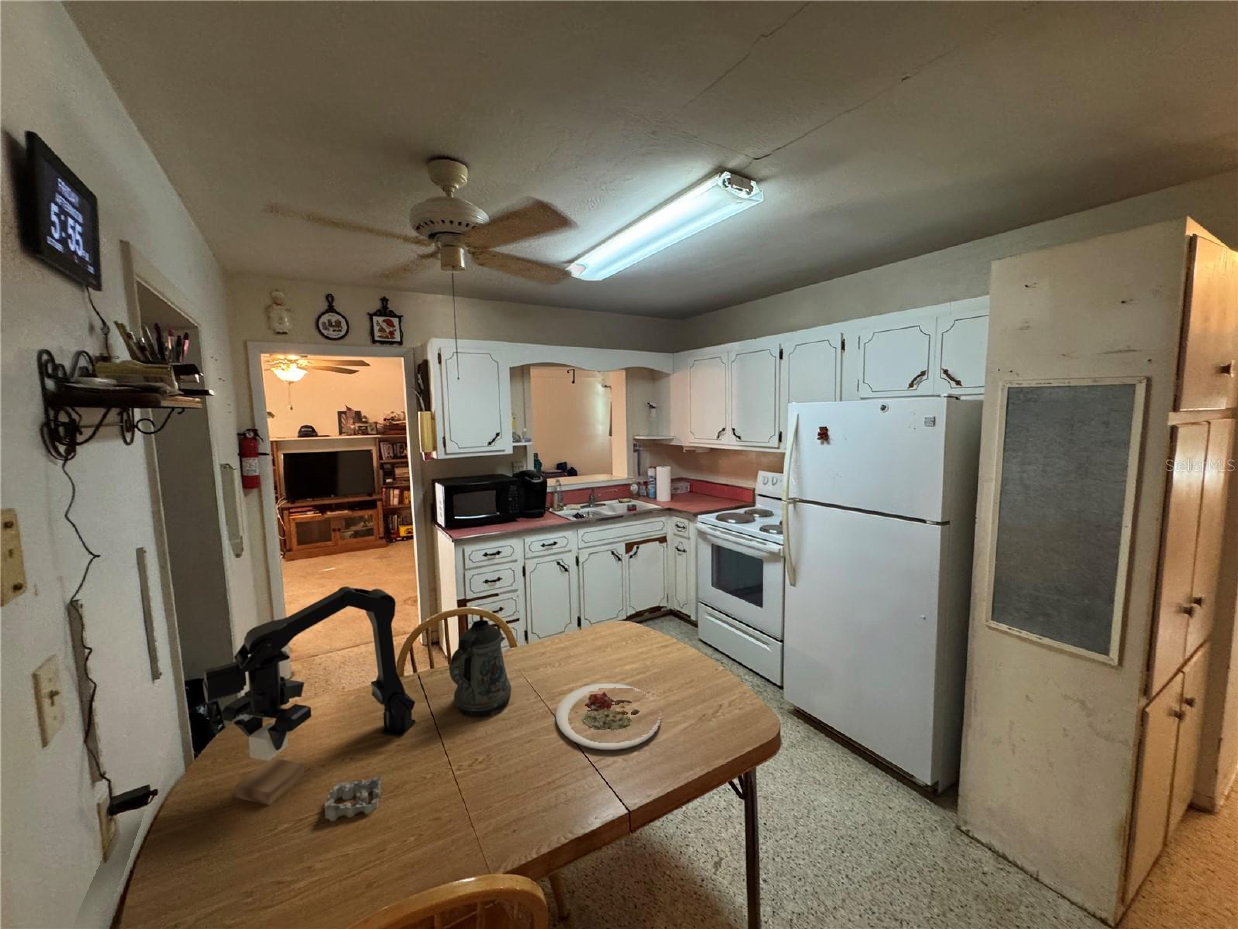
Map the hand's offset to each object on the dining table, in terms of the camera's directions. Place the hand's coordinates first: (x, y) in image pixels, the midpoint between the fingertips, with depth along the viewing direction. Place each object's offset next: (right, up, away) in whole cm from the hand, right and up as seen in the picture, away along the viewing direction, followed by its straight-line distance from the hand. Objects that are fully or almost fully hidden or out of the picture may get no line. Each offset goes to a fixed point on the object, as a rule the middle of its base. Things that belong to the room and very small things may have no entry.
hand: (269, 747), depth 111 cm
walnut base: (0, -10, +1) cm, 10 cm away
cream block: (0, -1, 0) cm, 1 cm away
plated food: (+77, -9, +29) cm, 83 cm away
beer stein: (+39, -7, +34) cm, 52 cm away
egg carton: (+21, -11, -4) cm, 24 cm away
